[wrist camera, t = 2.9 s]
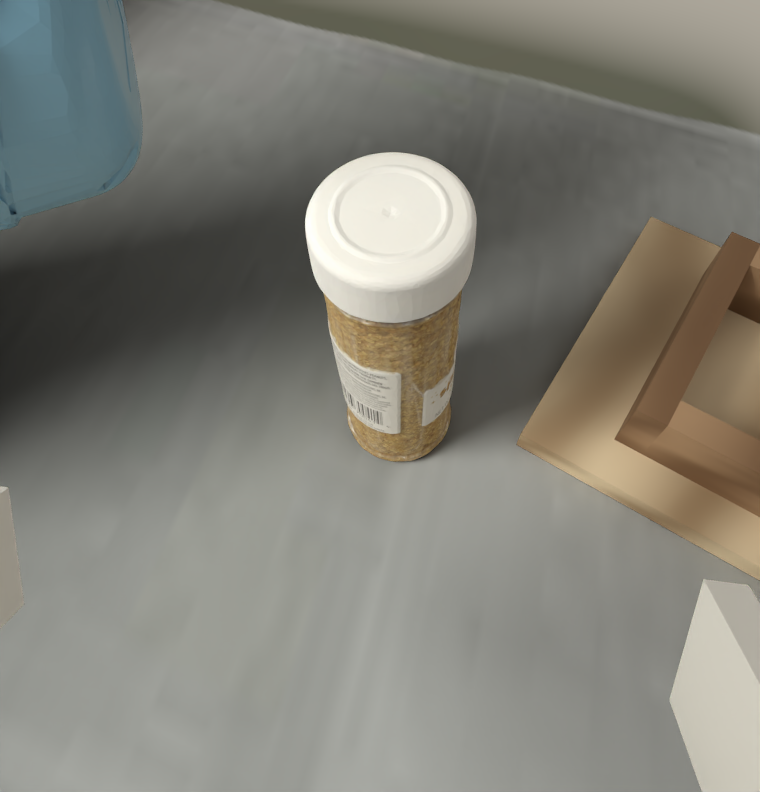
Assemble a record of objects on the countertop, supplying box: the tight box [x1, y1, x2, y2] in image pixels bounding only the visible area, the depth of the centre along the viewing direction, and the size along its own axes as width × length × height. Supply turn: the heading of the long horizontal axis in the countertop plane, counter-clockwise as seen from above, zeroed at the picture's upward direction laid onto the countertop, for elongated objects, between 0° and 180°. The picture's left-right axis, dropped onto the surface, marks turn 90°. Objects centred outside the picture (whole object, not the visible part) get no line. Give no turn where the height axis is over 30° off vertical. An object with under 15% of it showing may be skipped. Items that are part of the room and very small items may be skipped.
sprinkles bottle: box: [305, 152, 477, 462], centre depth 24 cm, size 5×5×14 cm
